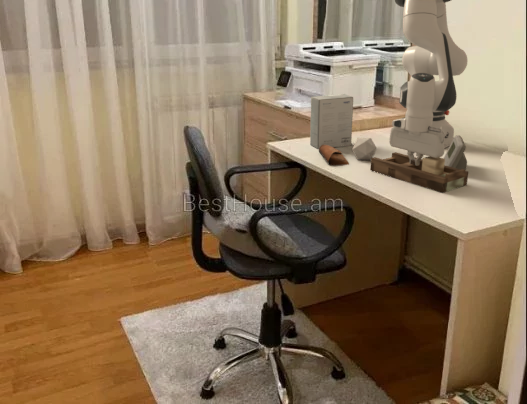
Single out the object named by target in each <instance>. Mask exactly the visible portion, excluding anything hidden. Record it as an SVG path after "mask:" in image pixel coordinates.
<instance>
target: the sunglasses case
mask: <svg viewBox="0 0 527 404" xmlns="http://www.w3.org/2000/svg"><path fill="white" fill-rule="evenodd" d="M318 152H319V153H320V155H322V157H323V158H324V160H325V161H326V163H327V164H328V165H329V166H341V165H342V166H347V165H348V166H349V165H350V162H349V161H348V159H347V158H346V156H344V155H343V153H342V151H340V150H338V149H337V148H336V147H331V146H329V145H321V146H320V148H319V149H318Z"/></svg>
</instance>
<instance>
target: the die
mask: <svg viewBox="0 0 527 404" xmlns="http://www.w3.org/2000/svg"><path fill="white" fill-rule="evenodd" d="M351 149H352V152H353V154H354V156H355V158H356V159H357V160H358V161H362V160H363V161H369V160H370V161H371V158H374V155H375V152H376V151H377V146H376V144H375V143H374V141H373V138H371V137H356V141H355V143H354V145H353V147H352V148H351Z"/></svg>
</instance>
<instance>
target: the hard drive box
mask: <svg viewBox="0 0 527 404" xmlns="http://www.w3.org/2000/svg"><path fill="white" fill-rule="evenodd" d="M353 112H354V96H352V95H348V94H346V93H344V94H343V93H342V94H329V95H318V96H317V95H315V96H310V132H309V133H310V134H309V135H310V137H309V138H310V142H309V143H310V146H311V147H313V148H315V149H318V150H319V148H320V146H321V145H329V146H331V147H333V148H339V147H348V146H349V147H350V146H352V140H353V139H352V134H353Z"/></svg>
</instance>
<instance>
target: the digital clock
mask: <svg viewBox="0 0 527 404" xmlns="http://www.w3.org/2000/svg"><path fill="white" fill-rule="evenodd" d="M453 137H454V139H453V141H452V143H451V145H450V146H448V149H447V151H446V153H445V154H444V155H443V156H444V157H443V158H444V159H445V164H444V165H445V166H449V167H453V168H457V169H460V170H461V169H464V170H465V171H467V166H468V160H467V157H466V155H465V151H466V149H467V147H466V144H465V142H464V140H463V139H464V138H463V137H462V136H461V135H459V134H457V135H455V136H453Z"/></svg>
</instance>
